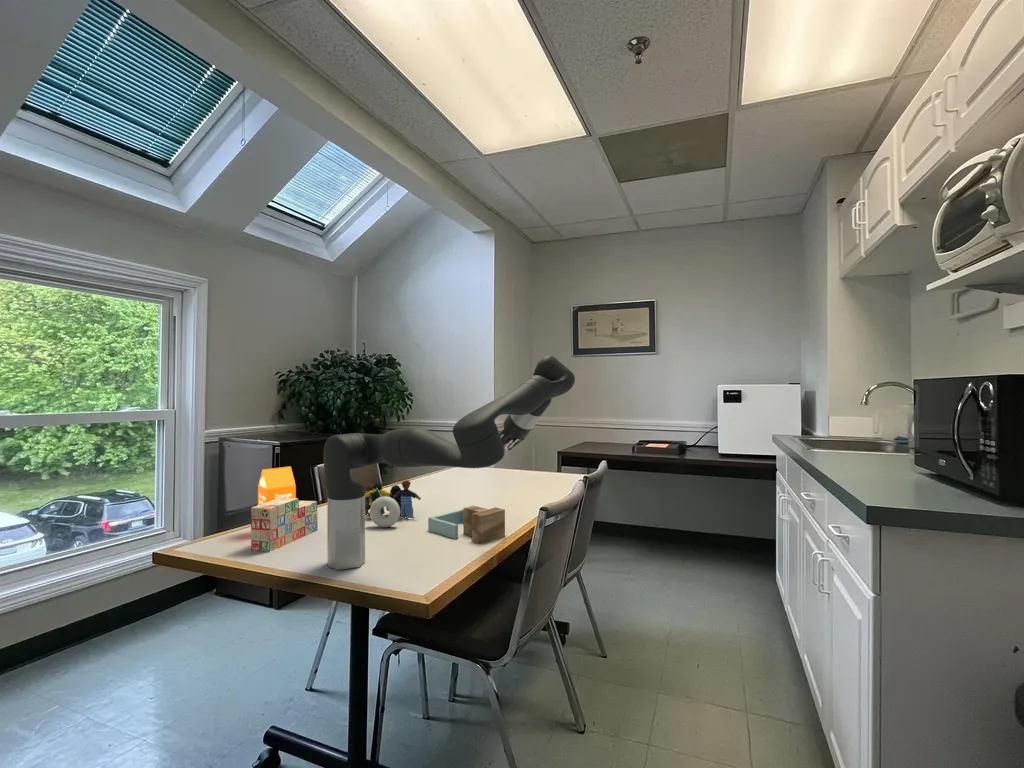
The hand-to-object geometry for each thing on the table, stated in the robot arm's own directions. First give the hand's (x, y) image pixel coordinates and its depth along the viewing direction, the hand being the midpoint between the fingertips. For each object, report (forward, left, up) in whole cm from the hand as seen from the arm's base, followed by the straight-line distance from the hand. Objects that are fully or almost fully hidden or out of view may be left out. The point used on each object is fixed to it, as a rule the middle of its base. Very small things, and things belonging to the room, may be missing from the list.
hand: (493, 458), depth 143 cm
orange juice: (+37, +59, -25) cm, 74 cm away
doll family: (+40, +24, -25) cm, 53 cm away
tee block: (+7, +2, -24) cm, 26 cm away
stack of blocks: (+27, +56, -25) cm, 67 cm away
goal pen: (+16, +6, -24) cm, 30 cm away
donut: (+28, +27, -25) cm, 46 cm away
